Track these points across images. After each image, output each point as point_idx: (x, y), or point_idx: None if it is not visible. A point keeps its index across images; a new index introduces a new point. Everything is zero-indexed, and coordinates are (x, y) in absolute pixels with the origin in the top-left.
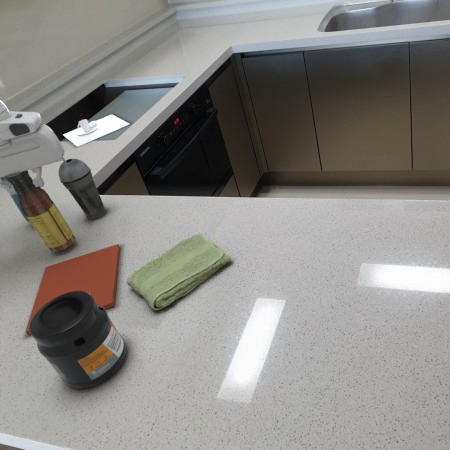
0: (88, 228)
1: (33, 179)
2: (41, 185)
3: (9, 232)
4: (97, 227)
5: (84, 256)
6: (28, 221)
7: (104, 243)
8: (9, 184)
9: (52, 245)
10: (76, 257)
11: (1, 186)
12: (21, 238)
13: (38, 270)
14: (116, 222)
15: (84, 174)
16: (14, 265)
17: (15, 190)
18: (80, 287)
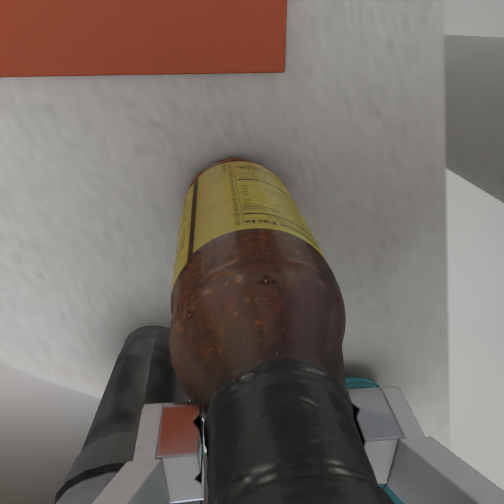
0: (167, 282)
1: (200, 485)
2: (147, 411)
3: (437, 373)
4: (131, 273)
5: (112, 57)
6: (378, 386)
7: (65, 147)
8: (401, 485)
9: (252, 165)
10: (151, 70)
11: (466, 468)
12: (400, 328)
13: (322, 93)
14: (56, 271)
15: (63, 497)
16: (415, 182)
17: (356, 416)
18: None
